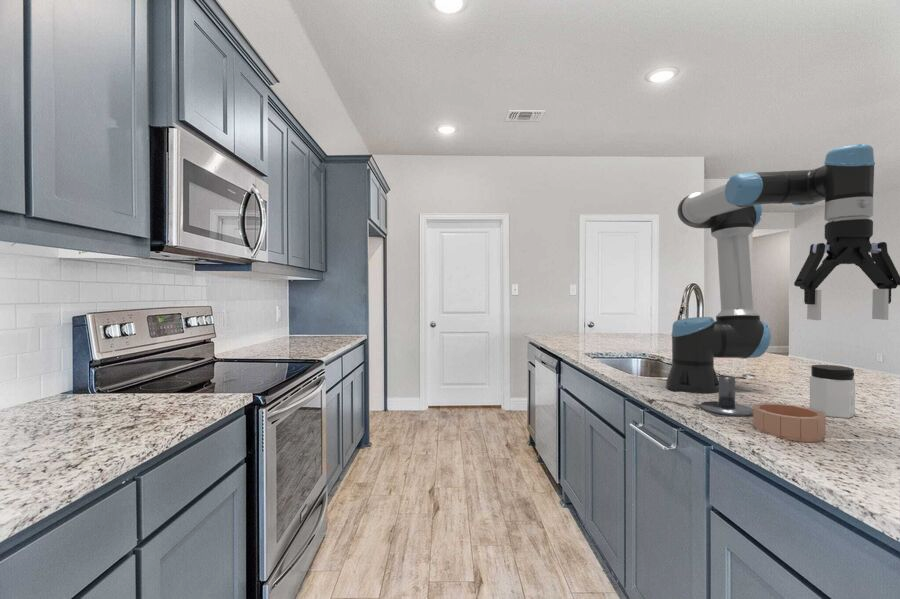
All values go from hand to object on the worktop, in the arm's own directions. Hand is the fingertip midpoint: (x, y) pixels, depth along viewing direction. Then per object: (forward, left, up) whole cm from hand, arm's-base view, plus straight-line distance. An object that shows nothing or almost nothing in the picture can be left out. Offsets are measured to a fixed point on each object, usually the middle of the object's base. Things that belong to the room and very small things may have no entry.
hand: (846, 319), depth 90 cm
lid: (-19, -14, -25) cm, 34 cm away
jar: (-19, +12, -26) cm, 34 cm away
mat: (-19, -14, -25) cm, 35 cm away
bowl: (-3, -10, -25) cm, 28 cm away
